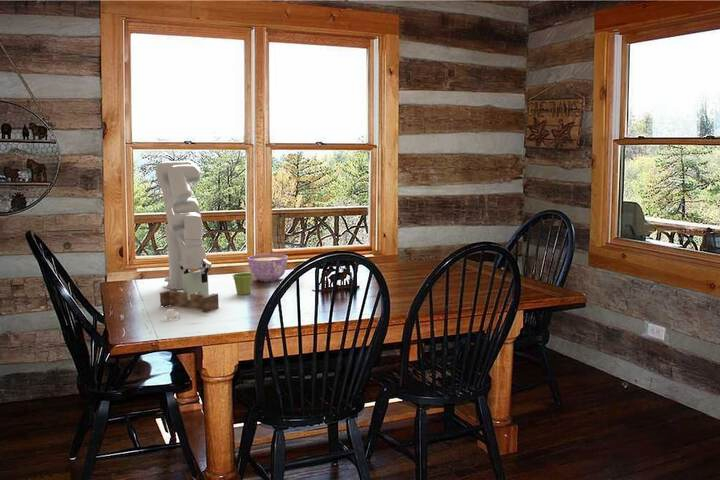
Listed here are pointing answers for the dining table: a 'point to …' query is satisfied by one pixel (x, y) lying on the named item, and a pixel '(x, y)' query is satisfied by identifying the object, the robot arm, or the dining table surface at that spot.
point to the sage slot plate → (194, 284)
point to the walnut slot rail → (196, 302)
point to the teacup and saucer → (171, 314)
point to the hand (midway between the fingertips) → (195, 281)
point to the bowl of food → (268, 266)
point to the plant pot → (243, 283)
